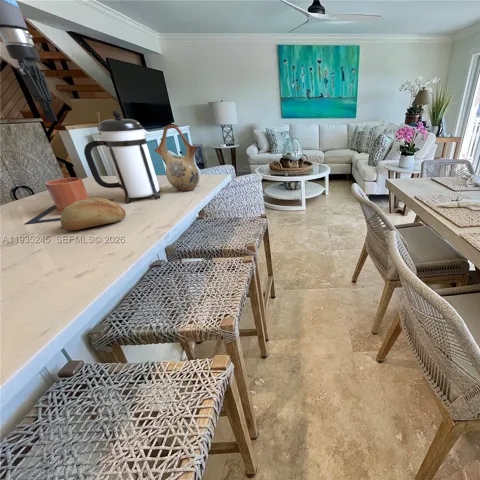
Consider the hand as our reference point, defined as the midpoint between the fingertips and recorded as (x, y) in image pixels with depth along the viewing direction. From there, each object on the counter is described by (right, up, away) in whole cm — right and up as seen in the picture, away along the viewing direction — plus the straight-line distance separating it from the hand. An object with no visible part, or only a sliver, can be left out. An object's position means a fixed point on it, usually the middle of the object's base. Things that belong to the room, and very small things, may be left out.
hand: (52, 120), depth 102 cm
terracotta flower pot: (+21, -36, -12) cm, 43 cm away
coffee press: (+35, -30, -1) cm, 46 cm away
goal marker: (+20, -36, -12) cm, 42 cm away
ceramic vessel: (+48, -25, +8) cm, 55 cm away
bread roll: (+38, -42, -24) cm, 61 cm away
